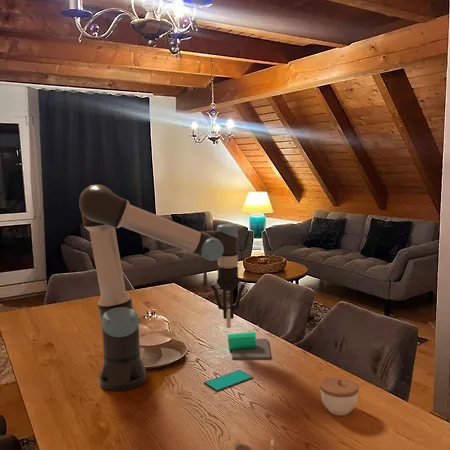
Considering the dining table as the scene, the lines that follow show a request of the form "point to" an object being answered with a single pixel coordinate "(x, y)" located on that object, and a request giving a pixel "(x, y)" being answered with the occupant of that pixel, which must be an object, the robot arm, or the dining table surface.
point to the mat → (253, 351)
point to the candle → (242, 340)
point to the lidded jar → (339, 394)
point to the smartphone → (228, 380)
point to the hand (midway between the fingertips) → (228, 326)
